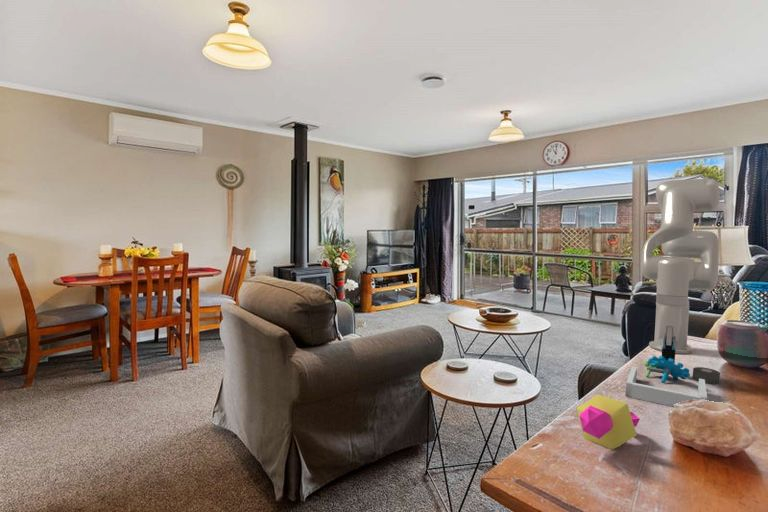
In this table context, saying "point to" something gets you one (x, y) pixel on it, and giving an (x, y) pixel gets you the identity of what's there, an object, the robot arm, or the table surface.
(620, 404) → the toy
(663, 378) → the gear
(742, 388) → the table surface
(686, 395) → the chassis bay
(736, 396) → the table surface
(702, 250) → the robot arm
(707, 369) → the wheel
